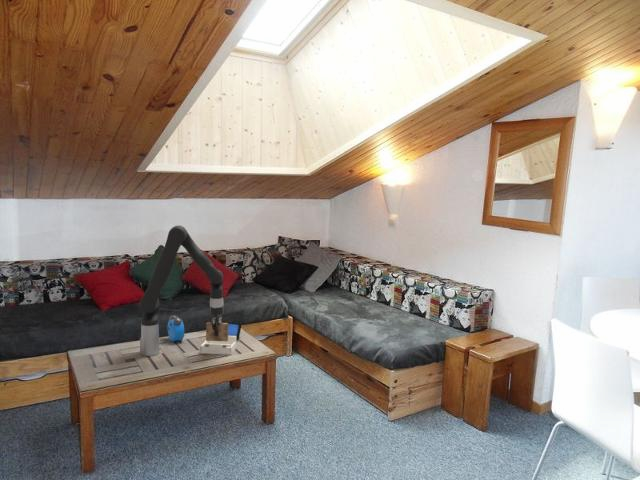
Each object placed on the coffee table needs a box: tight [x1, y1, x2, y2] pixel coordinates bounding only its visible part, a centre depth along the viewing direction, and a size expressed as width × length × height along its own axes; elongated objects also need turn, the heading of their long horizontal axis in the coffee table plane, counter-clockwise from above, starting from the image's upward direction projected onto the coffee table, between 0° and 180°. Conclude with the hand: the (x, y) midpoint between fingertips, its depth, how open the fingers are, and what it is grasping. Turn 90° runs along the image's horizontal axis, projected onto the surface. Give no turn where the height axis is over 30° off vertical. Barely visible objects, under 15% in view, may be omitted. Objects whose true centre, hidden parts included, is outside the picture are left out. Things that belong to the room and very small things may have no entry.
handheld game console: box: [221, 321, 242, 342], centre depth 295 cm, size 16×13×9 cm
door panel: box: [205, 321, 228, 341], centre depth 271 cm, size 12×2×10 cm, turn 86°
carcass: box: [199, 336, 237, 356], centre depth 275 cm, size 18×12×7 cm
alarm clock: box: [167, 315, 185, 342], centre depth 290 cm, size 13×6×15 cm, turn 37°
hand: (217, 335), depth 272 cm, fingers closed on door panel, 2 cm apart
